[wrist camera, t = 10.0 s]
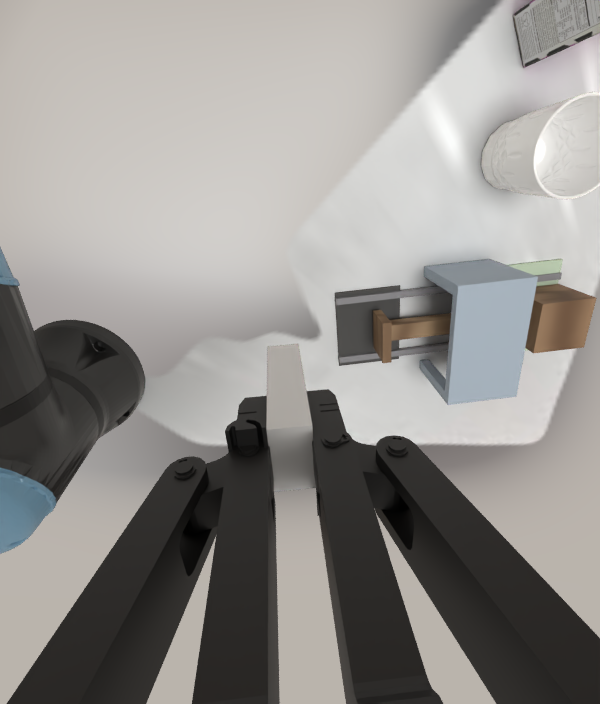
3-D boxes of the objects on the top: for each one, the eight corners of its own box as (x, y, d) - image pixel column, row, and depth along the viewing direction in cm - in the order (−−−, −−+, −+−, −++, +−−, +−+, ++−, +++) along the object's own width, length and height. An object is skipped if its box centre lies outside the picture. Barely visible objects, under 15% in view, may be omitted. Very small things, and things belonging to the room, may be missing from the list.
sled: (372, 349, 48) (385, 370, 43) (371, 305, 46) (385, 322, 40) (549, 328, 48) (583, 347, 43) (558, 283, 46) (596, 298, 40)
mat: (488, 353, 50) (490, 354, 50) (500, 265, 45) (502, 266, 45) (542, 347, 50) (544, 348, 50) (561, 258, 45) (562, 259, 45)
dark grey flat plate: (339, 364, 49) (339, 365, 49) (334, 292, 45) (335, 293, 45) (398, 358, 49) (398, 358, 49) (399, 285, 45) (400, 285, 45)
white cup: (479, 205, 42) (535, 212, 33) (471, 128, 38) (531, 112, 29) (548, 181, 41) (625, 181, 32) (546, 101, 38) (632, 76, 29)
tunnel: (340, 377, 50) (352, 416, 42) (333, 276, 44) (347, 298, 36) (541, 353, 51) (592, 387, 42) (562, 250, 45) (627, 266, 36)
